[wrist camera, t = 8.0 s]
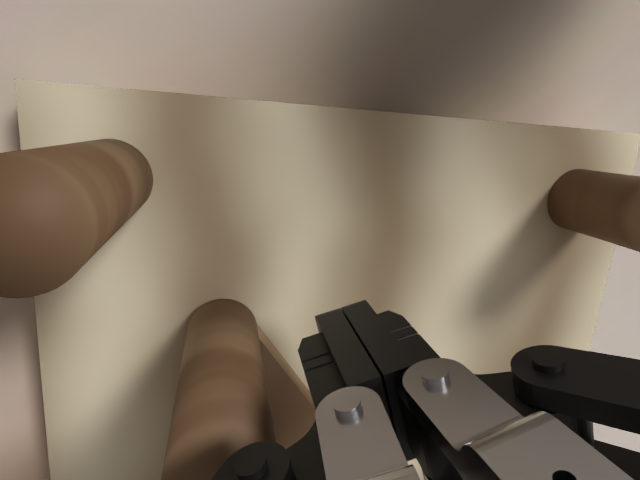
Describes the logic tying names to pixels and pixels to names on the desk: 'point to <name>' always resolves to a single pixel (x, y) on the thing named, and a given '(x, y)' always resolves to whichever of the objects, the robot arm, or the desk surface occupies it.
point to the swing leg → (231, 393)
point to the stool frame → (286, 241)
